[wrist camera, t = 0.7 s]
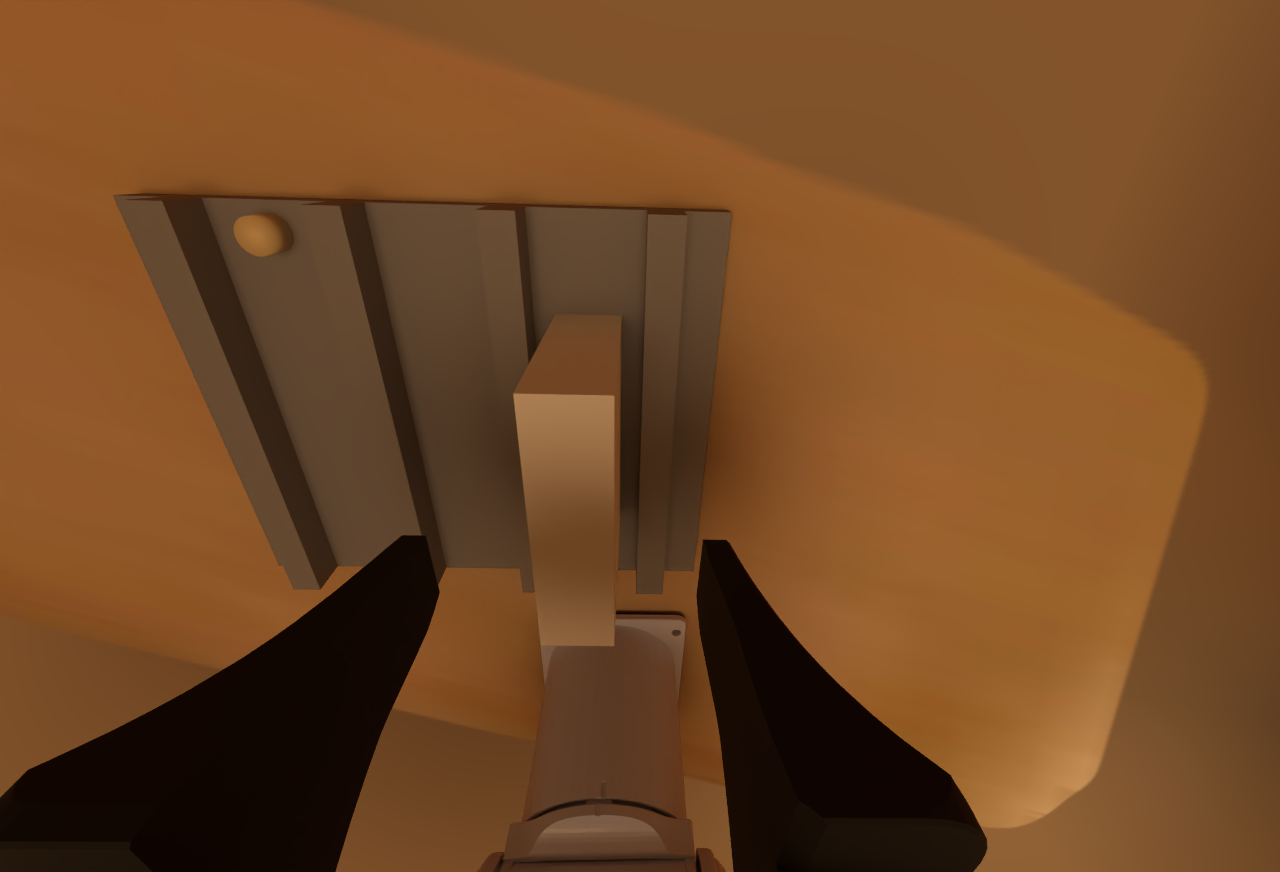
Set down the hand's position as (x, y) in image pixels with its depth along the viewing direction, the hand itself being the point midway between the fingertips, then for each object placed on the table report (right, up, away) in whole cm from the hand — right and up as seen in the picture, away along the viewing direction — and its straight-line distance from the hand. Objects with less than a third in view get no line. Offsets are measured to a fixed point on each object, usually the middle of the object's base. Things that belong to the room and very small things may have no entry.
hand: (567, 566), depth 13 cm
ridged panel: (-5, +5, +8) cm, 10 cm away
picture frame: (0, +4, +7) cm, 8 cm away
